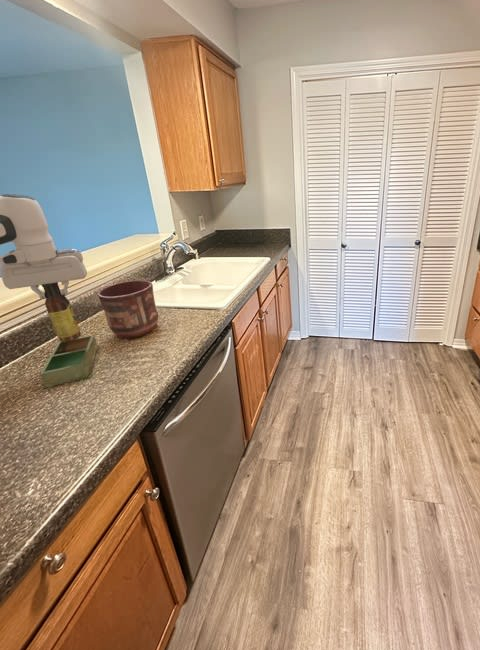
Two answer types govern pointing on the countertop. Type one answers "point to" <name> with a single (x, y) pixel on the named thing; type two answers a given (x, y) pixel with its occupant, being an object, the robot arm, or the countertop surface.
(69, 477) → the countertop surface
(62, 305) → the sauce bottle
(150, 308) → the pottery
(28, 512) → the countertop surface
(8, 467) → the countertop surface
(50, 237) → the robot arm
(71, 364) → the green shallow open box
